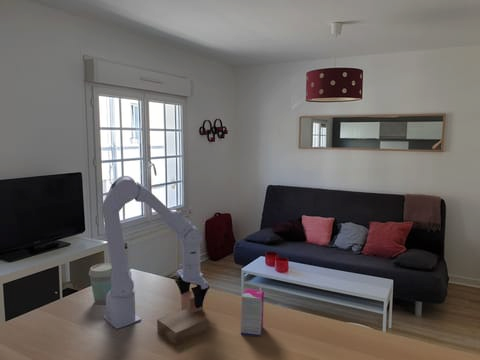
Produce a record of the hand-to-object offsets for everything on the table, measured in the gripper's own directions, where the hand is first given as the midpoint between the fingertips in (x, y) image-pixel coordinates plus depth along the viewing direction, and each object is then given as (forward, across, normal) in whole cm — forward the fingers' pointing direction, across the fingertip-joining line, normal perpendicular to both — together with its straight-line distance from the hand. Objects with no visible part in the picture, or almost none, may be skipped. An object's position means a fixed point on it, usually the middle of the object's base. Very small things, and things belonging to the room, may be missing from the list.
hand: (192, 303), depth 124 cm
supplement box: (+2, -23, -5) cm, 24 cm away
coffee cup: (+2, +25, +19) cm, 31 cm away
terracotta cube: (+2, 0, 0) cm, 2 cm away
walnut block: (+2, -10, +10) cm, 14 cm away
